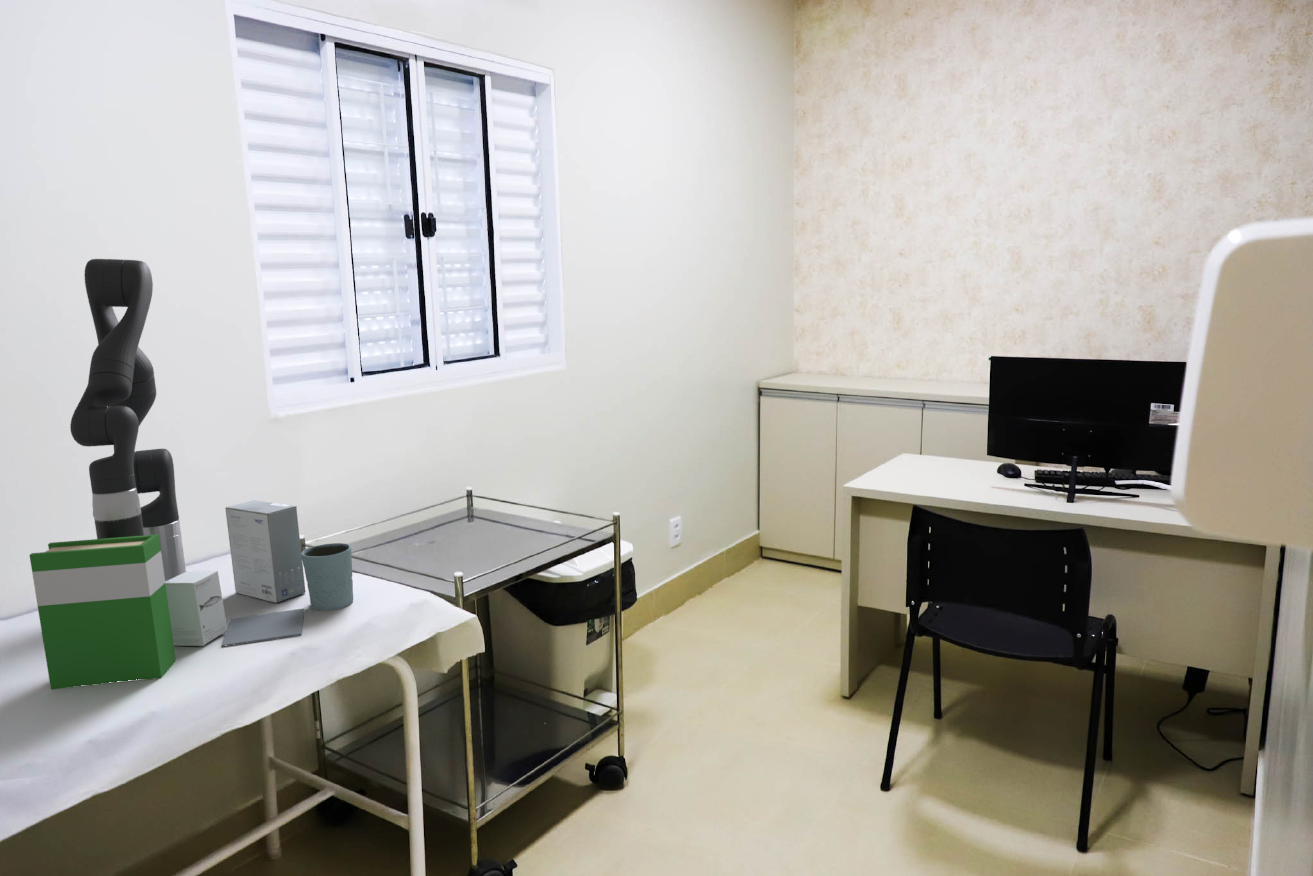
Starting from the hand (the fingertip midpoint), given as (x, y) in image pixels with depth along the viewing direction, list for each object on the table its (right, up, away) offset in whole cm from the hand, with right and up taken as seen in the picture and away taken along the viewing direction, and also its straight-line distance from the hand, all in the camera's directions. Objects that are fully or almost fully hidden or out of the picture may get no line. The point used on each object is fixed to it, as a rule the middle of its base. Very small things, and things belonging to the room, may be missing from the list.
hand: (130, 603), depth 170 cm
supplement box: (+11, -8, +5) cm, 14 cm away
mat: (+21, -7, +10) cm, 24 cm away
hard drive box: (+13, -4, +31) cm, 34 cm away
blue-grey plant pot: (+30, -4, +23) cm, 38 cm away
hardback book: (+3, -11, -10) cm, 15 cm away
